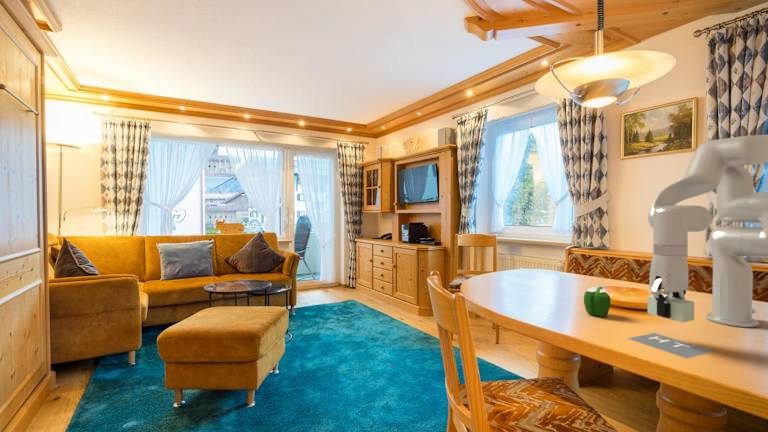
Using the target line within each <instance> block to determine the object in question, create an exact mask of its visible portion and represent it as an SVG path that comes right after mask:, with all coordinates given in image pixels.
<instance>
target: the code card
mask: <svg viewBox="0 0 768 432" xmlns="http://www.w3.org/2000/svg"><path fill="white" fill-rule="evenodd" d="M627 339H628V340H631V341H634V342H636V343H640V344H642V345H646V346H649V347H652V348H655V349H658V350H660V351H664V352H667V353H670V354H672V355H675V356H679V357H682V358H685V359H690V358H694V357H698V356H703V355H704V354H705V355H706V354H709V353H713V352H715V350H713V349H709V348H706V347H702V346H699V345H697V344H692V343H689V342H686V341H683V340H681V339H680V340H679V339H676V338H673V337H670V336H666V335H663V334H659V333H655V332H653V333H647V334H644V335H638V336H632V337H628V338H627Z"/></svg>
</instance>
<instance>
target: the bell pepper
mask: <svg viewBox="0 0 768 432" xmlns="http://www.w3.org/2000/svg"><path fill="white" fill-rule="evenodd" d="M602 289H603V286H601V285H598V287H597V288H596V291H595V290H594V291H587V290H586V291H584V296H583V305H584V308H585V311H586V313H587V314H588V315H590V316H593V317H594V316H597V317H601V318H602V317H603V318H604V317H607V316H608V314H609V311H610V308H611V300H612V299H611V297H610V294H608V293H607V292H600V290H602Z"/></svg>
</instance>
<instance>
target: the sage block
mask: <svg viewBox="0 0 768 432" xmlns="http://www.w3.org/2000/svg"><path fill="white" fill-rule="evenodd" d="M662 295H663V296H664V297H665V294H662ZM655 299H656V298H655V297H654V295H653V294H652V295H649V296H647V314H648V315H652V316H656V317H660V318H664V319H667V320H671V321H675V322H679V323H687V322H691V321H695V301H692V300H687V299H685V300H683V299H678V298H674V297H671V296H670V298H669V304H670V318H665V317H661V316H658V315H657V302H656V301H655Z"/></svg>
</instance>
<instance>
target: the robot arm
mask: <svg viewBox="0 0 768 432" xmlns="http://www.w3.org/2000/svg"><path fill="white" fill-rule="evenodd" d="M766 163H768V134H761V135H742V136H741V135H740V136H736V137H735V136H734V137H727V138H720V139H718V138H717V139H713V140H708V141H707V140H706V141H705V142H703V143H701V144H700V145H698V147H697V148H696V149H695V151H694V153H693V155H692V158H691V160H690V163H689V164H688V166H687V168H686V171H685V173H684V175H683V176H682V177H680V178H678V179H677V180H675V181H673V182H672V183H670V184H669V185H668V186H666V187H665V188H663V189H662V190H660V192H659V193H658V194H657V195H656V196H655V198H654V200H653V202H652V205H651V207H650V208H649V212H648V217H647V218H648V219H647V220H648V223H649V226H650V227H651V228H652V229H653V231H652V232H653V237H652V240H653V242H652V243H653V245H652V246H653V249H652V250H653V253H652V258H651V263H650V270H649V285H648V286H649V289H650V294H651V295H652V296H653V295H654V297H655V298H656V299H655V301H656V302H657V315H658V316H657V317H659V316H661V317H660V318H663V317H665V318H664V319H667V318H670V304H669V298H670V297H674V298H678V299H683V300H686V297H685V295H686V294H687V291H688V290H689V278H690V277H689V265H688V253H689V252H688V249H689V248H688V243H689V242H688V240H689V239H688V237H689V236H688V233H689V232H690V233H692V232H693V233H697V232H698V233H699V232H704V231H705V230H707V229H708V228H709V227H710V226H711V223H712V220H713V216H712V213H711V211H710V210H709V209H708V208H706V207H704V206H702V205H693V204H690V205H689V204H686V205H678V203H680V202H683V201H686V200H689V199H692V198H695V197H698V196H699V197H700V196H702V195H705V194H707V193H710V192H712V191H714V190H715V189H717V190H716V192H717V193H716V213H717V214H716V215H717V217H718V219H720V220H721V221H724V222H729V223H757V224H759V223H760V224H762V226H760V227H759V226H742V225H741V226H738V225H737V226H735V225H725V226H719V227H716V228H714V229H712V231H711V232H710V233H709V245H710V249H711V255H712V297H711V298H712V300H711V301H712V302H711V303H712V304H711V305H712V306H711V307H712V308H711V311H712V312H708V313H706V314H705V318H706V319H707V320H709V321H711V322H715V323H718V324H722V325H728V326H733V327H738V328H739V327H741V328H756V327H759V326H760V322H759V321H758V320H757V319H754V318H753V315H754V314H755V313H756V312H757V311H756V309H755V308H753V287H754V286H753V284H754V283H753V281H754V278H753V277H754V273H753V268H752V266H751V265H750V262H748V261H747V260H746V259H745V258H744V257H748V258H749V257H750V258H751V257H752V258H762V259H768V192H765V191H764V192H754V177H753V175H752V174H751V173H750V172H749V170H747V168H745V166H748V165H749V166H750V165H759V164H760V165H761V164H766ZM663 295H664V296H665V297H664V296H663Z"/></svg>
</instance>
